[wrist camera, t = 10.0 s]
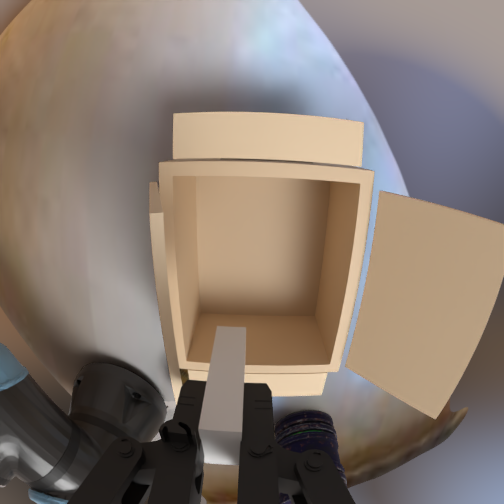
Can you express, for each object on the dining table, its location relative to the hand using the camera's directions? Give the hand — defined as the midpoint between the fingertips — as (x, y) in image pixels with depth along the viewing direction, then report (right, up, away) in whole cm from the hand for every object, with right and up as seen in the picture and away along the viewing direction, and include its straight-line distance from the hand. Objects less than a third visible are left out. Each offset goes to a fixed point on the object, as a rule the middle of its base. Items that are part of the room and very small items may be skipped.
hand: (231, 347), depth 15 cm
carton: (+2, +6, +15) cm, 16 cm away
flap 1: (-4, +1, +2) cm, 4 cm away
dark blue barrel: (+10, -24, +26) cm, 37 cm away
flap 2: (+13, +1, +2) cm, 13 cm away
